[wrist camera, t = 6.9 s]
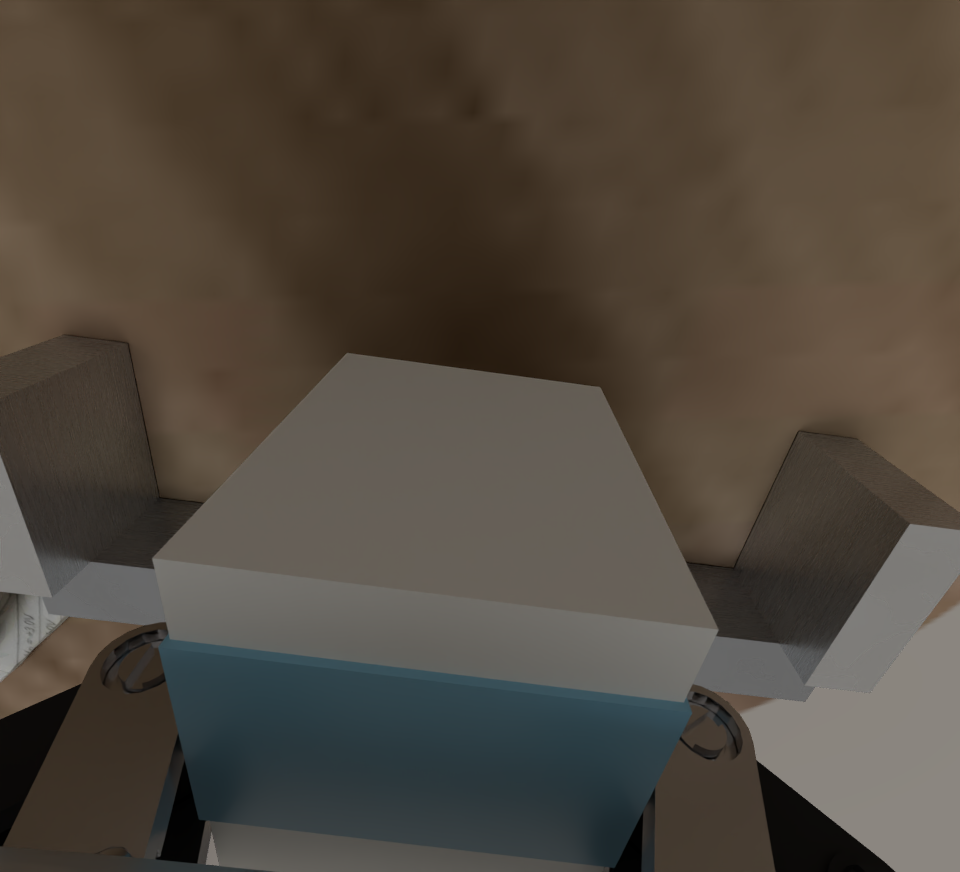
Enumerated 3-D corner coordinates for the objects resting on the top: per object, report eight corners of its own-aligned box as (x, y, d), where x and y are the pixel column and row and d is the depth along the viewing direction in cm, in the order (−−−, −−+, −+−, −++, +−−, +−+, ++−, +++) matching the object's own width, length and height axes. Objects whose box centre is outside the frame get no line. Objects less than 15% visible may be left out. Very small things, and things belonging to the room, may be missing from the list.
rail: (64, 335, 16) (-107, 394, 11) (857, 439, 16) (989, 533, 12) (119, 545, 20) (9, 651, 15) (758, 622, 20) (830, 745, 16)
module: (344, 352, 10) (138, 565, 4) (602, 387, 10) (728, 639, 4) (343, 640, 13) (231, 956, 8) (532, 664, 13) (552, 992, 8)
